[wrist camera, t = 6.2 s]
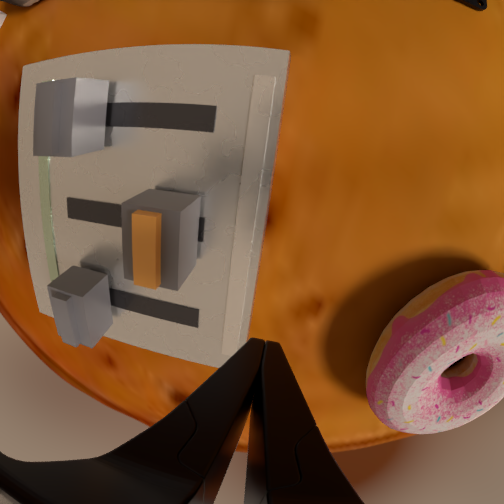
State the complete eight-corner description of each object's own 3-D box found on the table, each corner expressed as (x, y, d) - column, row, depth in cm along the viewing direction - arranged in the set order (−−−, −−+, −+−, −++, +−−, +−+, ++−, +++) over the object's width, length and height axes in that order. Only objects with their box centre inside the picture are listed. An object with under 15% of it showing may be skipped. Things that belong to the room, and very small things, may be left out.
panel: (290, 56, 14) (289, 50, 13) (244, 358, 23) (241, 373, 21) (37, 66, 16) (22, 65, 14) (49, 303, 24) (39, 312, 23)
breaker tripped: (201, 195, 16) (175, 215, 13) (196, 264, 18) (173, 297, 15) (149, 188, 16) (114, 206, 13) (148, 255, 18) (118, 284, 15)
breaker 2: (107, 274, 19) (76, 302, 16) (113, 323, 21) (88, 353, 18) (72, 265, 19) (41, 290, 16) (80, 312, 21) (53, 339, 18)
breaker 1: (109, 80, 14) (68, 76, 11) (104, 149, 16) (63, 159, 13) (70, 84, 15) (28, 83, 11) (66, 147, 16) (25, 157, 13)
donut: (386, 419, 24) (393, 463, 19) (332, 314, 20) (337, 366, 16) (515, 356, 20) (537, 393, 15) (504, 227, 16) (546, 258, 11)
